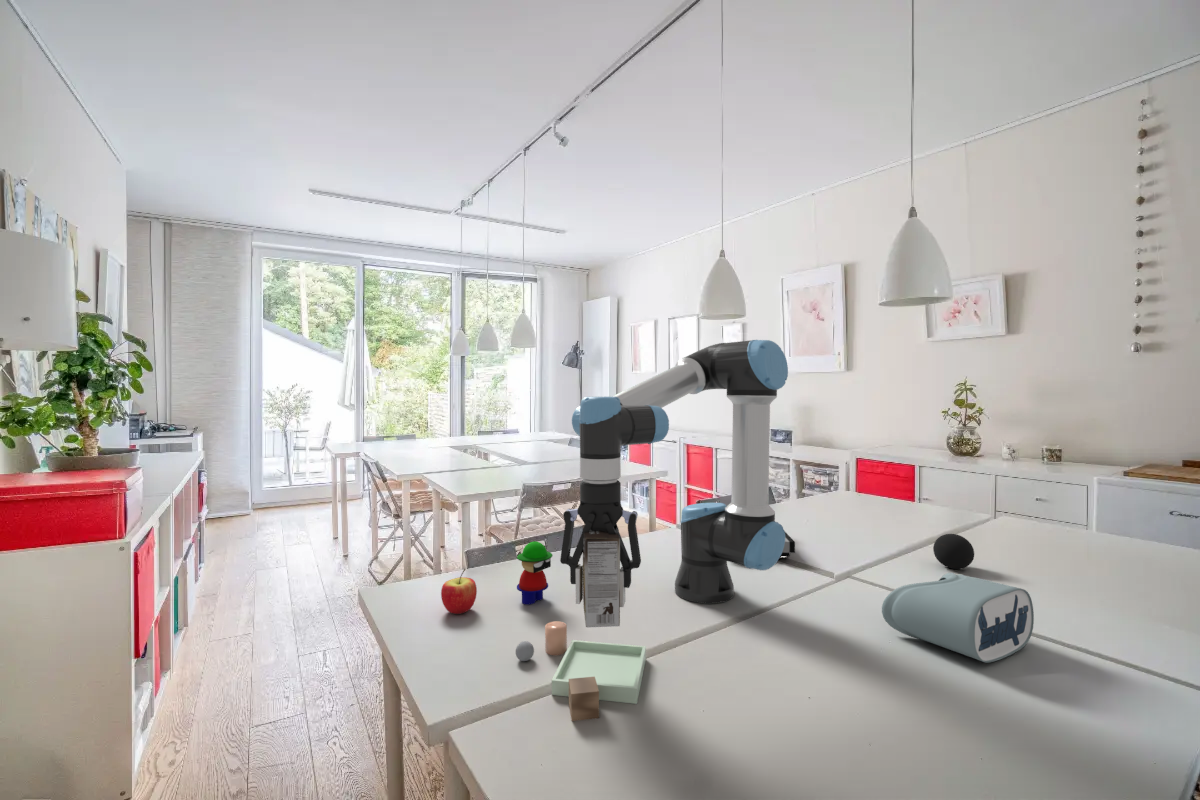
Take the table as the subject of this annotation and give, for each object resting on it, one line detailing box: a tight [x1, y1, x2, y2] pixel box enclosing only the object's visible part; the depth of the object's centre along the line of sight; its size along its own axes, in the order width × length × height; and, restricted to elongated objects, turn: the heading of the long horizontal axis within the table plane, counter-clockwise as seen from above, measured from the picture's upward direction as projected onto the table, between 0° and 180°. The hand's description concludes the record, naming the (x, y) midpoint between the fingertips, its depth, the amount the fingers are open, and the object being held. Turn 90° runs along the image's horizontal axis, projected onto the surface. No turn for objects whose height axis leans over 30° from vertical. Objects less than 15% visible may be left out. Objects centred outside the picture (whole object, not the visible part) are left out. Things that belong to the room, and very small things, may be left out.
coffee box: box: [581, 524, 621, 628], centre depth 98 cm, size 9×6×16 cm
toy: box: [516, 540, 553, 606], centre depth 133 cm, size 9×9×15 cm
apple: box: [440, 568, 478, 615], centre depth 127 cm, size 8×8×10 cm
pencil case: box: [881, 572, 1035, 664], centre depth 112 cm, size 22×19×13 cm
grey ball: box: [515, 640, 535, 662], centre depth 105 cm, size 4×4×4 cm
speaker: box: [932, 533, 975, 570], centre depth 155 cm, size 10×10×10 cm
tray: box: [551, 639, 647, 705], centre depth 99 cm, size 15×15×3 cm
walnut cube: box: [568, 677, 600, 722], centre depth 88 cm, size 4×4×4 cm
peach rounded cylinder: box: [544, 620, 568, 656], centre depth 108 cm, size 4×4×5 cm
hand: (600, 602), depth 98 cm, fingers closed on coffee box, 7 cm apart
